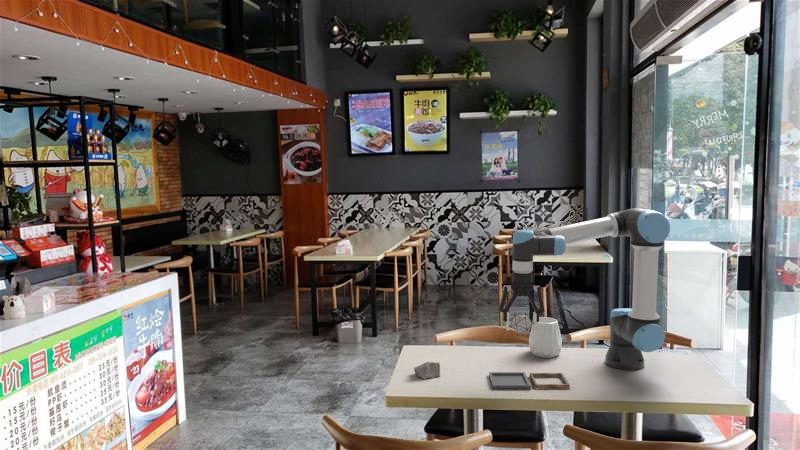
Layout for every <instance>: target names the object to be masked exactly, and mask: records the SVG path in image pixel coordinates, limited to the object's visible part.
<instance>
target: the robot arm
mask: <svg viewBox="0 0 800 450" xmlns="http://www.w3.org/2000/svg"><path fill="white" fill-rule="evenodd" d="M670 233H671V224H670V222H669V219H668V218H667V216H665V214H663V213H661V212H659V211H656V210H655V209H654V210H653V209H645V208H637V207H635V208H629V209H625V210H620V211H616V212H612V213H608V214H607V216H604V217H600V218H596V219H595V218H594V219H591V220H585V221H581V222H577V223H576V222H575V223H572V224H571V223H570V224H567V225H562V226H561V225H560V226H557V227H552V228H551V227H550V228H547V229H542V230H534V229H533V230H531V229H518V230H517V229H516V230H514V232H513V236H512V263H511V264H512V268H511V270H512V272H511V284H509V285H506V284H504V285H503V286H502V287H503V293H502V296H501V300H500V302H499V306H498V311H499V312H500V313H503V317H502V318H503V319H502V320H503V322H504V323H505V330H506V332H509V331H510V327H509V325H510V312H509V311H510V308H511V307H512V305H513V303H514V301H515V300H516V299H517V297H527V298H528V300H529V302H530V304H531V306H532V308H533V309H534V312H532V314H533V315H532V322H534V324H533V330H534V331H536V322H539V317H540V314H541V313H544V312H545V311H546V310H545V307H544V306H545V305H544V302H543V297H542V294H541V291H542V288H541V286H540V285H534V284H533V278H534V274H533V271H534V269H533V267H534V257H535V256H536V257H537V256H562V255H563V254H564V253H565V252H566V250H567V249H566V248H567V247H566V246H568V245H571V244H575V243H581V242H585V241H590V240H591V241H592V240H596V239H600V238H605V237H609V236H611V237H612V238H618V237H629V238H630V246H631V247H632V248H633V249H634V253H633V274H632V275H633V278H632V280H633V281H632V284H633V285H632V300H631V301H632V303H631V307H632V308H631V307H629V308H628V307H626V308H623V307H621V308H620V307H619V308H614V309H612V310H611V311H610V317H609V319H610V323H609V324H610V326H609V329H610V330H609V346H608V349H607V351H606V354H605V359H604V360H605V361H604V363H605V364H606V365H607V366H609V367H612V368H615V369H621V370H627V371H628V370H630V371H632V370H633V371H634V370H640V369H642V368H644V367H645V358H644V355H643V352H644V353H653V352H655V351H657V350H659V348H661V347H662V346H663V344H664V342H665V339H666V332H665V330H664V329H663V327H662V326H661V315H660V314H658V313H657V299H658V297H657V296H658V295H657V294H658V293H657V292H658V274H659V253H660V252H659V251H660V250H661V249H662V248H663V247H664V241H665V240H666V239H667V238H668V237H669V235H670ZM510 290H511V291H512V294H511V296H510V297H509V300H508V301H507V296H508V292H510ZM533 290H534V292H535V293H536V298H537V302H538V305H539V306H537V304H536V302H535V301H534V298H533V296H532V294H531V293H532V291H533ZM506 302H507V303H506Z"/></svg>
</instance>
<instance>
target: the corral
mask: <svg viewBox="0 0 800 450" xmlns="http://www.w3.org/2000/svg"><path fill="white" fill-rule="evenodd" d="M529 378H530V381H531V383H532V384H533V386H534V389H537V390H538V389H539V390H540V389H541V390H544V389H545V390H546V389H547V390H548V389H550V390H552V389H553V390H555V389H556V390H564V389H565V390H568V389H570V388H571V386H570V383H569V382H568V380H567V378H566V377H565V375H564V373H563V372H529ZM535 378H560V379H561V381H562V382H563V383H537V381H536V379H535Z"/></svg>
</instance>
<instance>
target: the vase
mask: <svg viewBox="0 0 800 450" xmlns="http://www.w3.org/2000/svg"><path fill="white" fill-rule="evenodd" d="M531 322H532V323H533V321H531ZM559 326H560V325H559V322H558V319H556V318H554V317H547V316H546V317H545V316H539V322H536V331H534V330H533V324H532V326H531V328H530V331H529V332H530V333H529V335H528V336H529V337H528V344H529V350H530V353H531V354H532V355H533V356H536V357H539V358H547V359H549V358H554V357H557V356H559V355H560V353H561V351H562V346H563V345H562V343H563V342H562V341H563V340H562V336H561V330H560V327H559Z"/></svg>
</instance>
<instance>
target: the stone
mask: <svg viewBox="0 0 800 450" xmlns="http://www.w3.org/2000/svg"><path fill="white" fill-rule="evenodd" d="M440 365H441V364H440V362H435V361H426V362H424V363H422V364H419V365H417V366H414V367H413V370H414V373H415V375H417V376H418V377H419V378H422V379H423V380H427V379H431V378H432V379H434V378H436V377H437V378H438V377H440V376H441V366H440Z"/></svg>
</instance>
